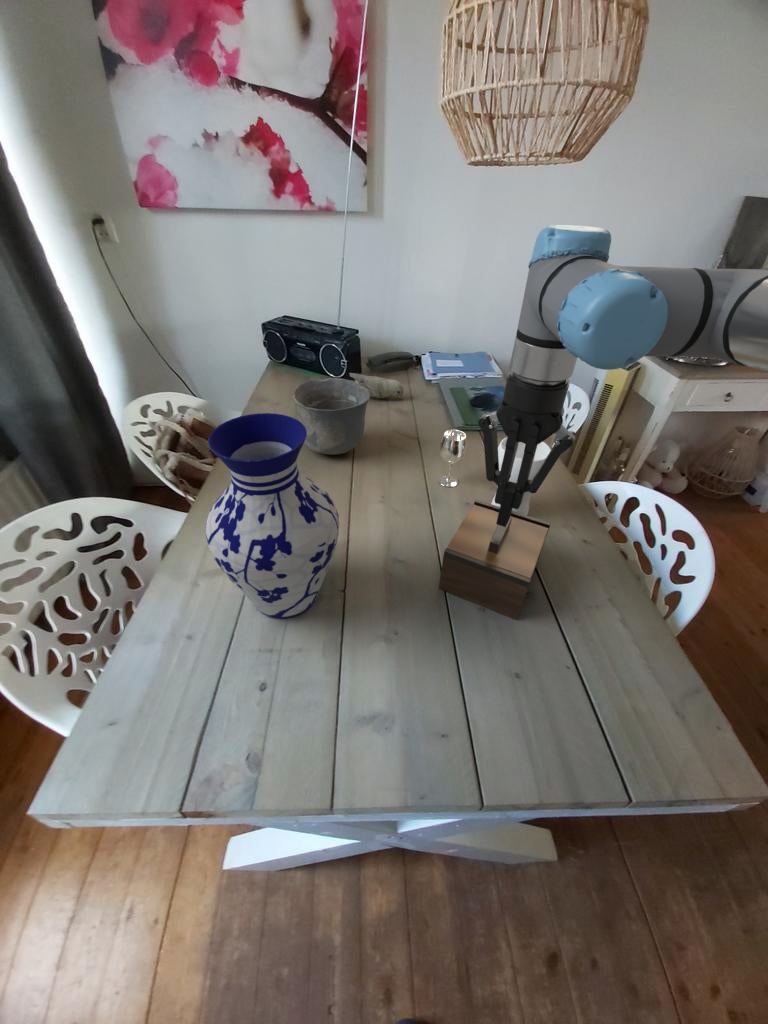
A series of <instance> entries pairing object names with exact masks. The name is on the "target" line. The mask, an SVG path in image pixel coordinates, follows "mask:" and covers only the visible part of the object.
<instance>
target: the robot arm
mask: <svg viewBox="0 0 768 1024" xmlns="http://www.w3.org/2000/svg"><path fill="white" fill-rule="evenodd" d="M611 244H612V235H611V232H610V231H609V230H608V229H605V228H603V227H597V226H588V225H587V226H586V225H573V224H555V225H553V224H552V225H547V226H545V227H544V228H541V230H540V231H539V233H538V234H537V236H536V239H535V242H534V247H533V250H532V254H531V257H530V260H529V262H528V265H527V267H528V273H527V278H526V282H525V288H524V293H523V299H522V303H521V308H520V314H519V317H518V318H519V319H518V324H517V329H516V334H515V339H514V342H513V346H512V347H513V348H512V352H511V357H510V362H509V368H510V370H511V371H509V372H508V374H507V377H506V382H505V387H504V392H503V397H502V401H501V404H500V405H499V406H498V407H497V409H496V410H494V411H492V412H490V411H485V412H484V413H483V414H482V415H481V417H480V418H479V419H478V421H477V422H478V423H477V424H478V426H479V428H480V430H481V433H482V435H483V448H484V449H483V451H484V463H485V464H484V465H485V476H486V480H487V481H488V482H493V483H495V484H496V491H495V494H496V496H495V495H494V496H495V503H497V504H500V505H501V506H500V510H499V514H498V518H497V522H496V524H497V525H500V526H503V527H506V525H507V523H508V521H509V519H510V516H511V512H512V508H514V509H518V508H519V507H520V505H521V503H522V499H523V495H524V492H530V493H532V494H535V493H537V492H538V490H539V489H540V487H541V486H542V484H543V483H544V481H545V480H546V478H547V477H546V476H548V475H549V473H550V472H551V471H552V469H553V467H555V464H556V463H557V461H558V459H559V458H560V456H561V455H562V454H563V453H565V452H566V451H568V450H569V449H570V448H571V447H573V445H574V443H575V440H576V438H577V434H576V432H575V431H574V430H573V431H572V430H570V431H569V430H568V429H567V428H566V427H565V426H564V425H563V424H564V420H563V414H562V413H563V408H564V405H565V401H566V399H567V395H568V391H569V388H570V384H571V382H570V380H569V379H570V378H571V377H572V376H573V374H574V370H575V367H576V364H577V361H578V359H579V360H580V361H581V362H584V363H585V364H587V365H588V366H590V367H592V368H595V369H598V370H605V371H611V370H612V371H613V370H619V369H622V368H623V367H625V366H629V365H630V364H633V363H635V362H638V361H639V360H641V359H643V358H644V357H660V358H661V357H663V358H665V357H686V358H687V357H688V358H692V357H693V358H708V359H716V360H721V361H724V362H728V363H731V364H735V365H740V366H744V367H748V368H753V369H756V370H759V371H764V372H767V373H768V268H752V269H751V268H698V267H669V266H668V267H666V266H665V267H664V266H631V265H615V264H612V263H610V262H609V259H610V255H609V254H610V249H611ZM499 424H500V426H501V429H502V431H503V432H504V435H505V436H506V437H507V441H506V446H505V447H506V449H505V453H504V457H503V462H502V466H501V471H499V459H498V446H499V443H498V428H497V427H498V425H499ZM554 434H555V437H554V439H553V443H554V444H553V446H552V448H550V449H551V451H550V453H549V454H548V456H547V457H546V459H545V461H544V462H543V464H542V465H541V467H540V469H539V470H538V472H537V473H536V475H535V477H534V478H533V480H528V478H529V475H530V471H531V467H532V463H533V460H534V456H535V452H536V449H537V445H538V444H540V443H541V442H544V441H546V440H547V439H548V438H550V437H551V436H553V435H554ZM519 442H522V443H524V444H526V445H525V449H524V455H523V459H522V463H521V467H520V471H519V475H518V479H517V483H514V482H510V481H509V479H510V477H511V472H512V468H513V464H514V459H515V455H516V451H517V447H518V443H519ZM544 479H545V480H544Z"/></svg>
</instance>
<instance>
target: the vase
mask: <svg viewBox="0 0 768 1024" xmlns="http://www.w3.org/2000/svg"><path fill="white" fill-rule="evenodd" d="M306 436H307V431H306V428H305V426H304V425H303V424H302V423H301V422H299V421H298V419H297V418H294V417H292V416H289V415H285V414H282V413H281V414H279V413H272V412H271V413H270V412H262V413H259V412H258V413H252V414H245V415H241V416H237V417H233V418H232V419H229V420H226V421H225V422H223V423H221V424H219V425H217V427H216V428H214V429H213V430H212V431H211V433H210V434H209V436H208V439H207V445H208V447H209V449H210V450H211V452H212V453H213V454H214V455H215V456H217V458H218V459H219V460H220V461H221V462H222V463H223V464H224V465H225V466H226V467H227V469H228V470H229V473H230V483H229V485H228V487H226V489H225V490H224V492H222V494H220V496H219V497H218V498H217V499H216V500H215V502H214V503H213V505H212V507H211V509H209V512H208V515H207V520H206V523H205V541H206V543H207V546H208V549H209V551H210V553H211V556H212V558H213V560H214V561H215V563H216V564H217V566H219V568H220V569H221V571H222V572H223V573H224V574H225V576H227V577H228V578H229V581H230V582H231V583H232V584H234V586H235V587H236V588H237V589H238V590H239V591H240V593H242V594H243V596H245V598H247V599H248V601H250V603H251V604H252V605H253V606H254V607H255V608H256V610H258V611H259V612H260V613H261V614H263V615H264V616H267V617H269V618H273V619H290V618H294V617H297V616H299V615H302V614H304V613H305V612H307V611H308V610H309V609H311V607H312V606H313V605H314V604H315V603H316V601H317V599H318V598H319V595H320V594H319V593H320V592H321V588H322V586H323V583H324V581H325V578H326V576H327V574H328V571H329V567H330V565H331V563H332V559H333V557H334V553H335V550H336V546H337V544H338V538H339V535H340V533H339V532H340V517H339V512H338V509H337V507H336V505H335V504H336V503H335V502H334V500H333V499H332V497H331V495H329V493H328V492H327V491H326V490H325V489H324V488H323V487H322V486H320V484H318V483H316V482H314V481H313V480H312V479H310V478H309V477H307V476H305V475H304V474H302V473H301V471H300V470H299V468H298V457H299V454H300V452H301V450H302V448H303V446H304V441H305V439H306Z"/></svg>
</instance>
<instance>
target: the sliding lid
mask: <svg viewBox="0 0 768 1024" xmlns="http://www.w3.org/2000/svg"><path fill="white" fill-rule="evenodd" d="M498 514H499V512H496V511H493V510H490V509H487V508H484V507H481V506H477V505H474V503H473V504H472V505H471V507H470V509H469V510H468V512H467V513H466V515H465V517H464V519H462V521H461V523H460V525H459V527H458V528H457V530H456V532H455V533H454V535H453V537H452V539H451V540H450V542H449V544H448V545H447V547H446V549H449V550H452V551H455V552H457V553H460V554H463V555H466V556H468V557H471V558H474V559H476V560H479V561H482V562H485V563H487V564H490V565H493V566H496V567H498V568H501V569H504V570H507V571H509V572H512V573H515V574H518V575H520V576H523V577H526V578H529V579H531V577H532V578H533V576H532V574H533V575H534V573H535V570H536V567H537V565H536V563H537V564H538V562H537V560H538V561H539V559H540V556H541V553H542V550H543V548H542V546H543V547H544V545H545V542H546V539H547V536H548V533H549V531H550V527H549V528H546V527H543V526H540V525H537V524H534V523H531V522H527V521H524V520H521V519H518V518H515V517H512V516H510V519H509V521H508V523H507V525H506V527H503V526H500V525H497V524H496V522H497V518H498ZM546 535H547V536H546ZM545 538H546V539H545ZM544 541H545V542H544ZM543 544H544V545H543ZM541 549H542V550H541ZM540 552H541V553H540ZM539 555H540V556H539ZM538 558H539V559H538ZM535 566H536V567H535ZM534 569H535V570H534ZM533 572H534V573H533ZM531 580H532V579H531Z"/></svg>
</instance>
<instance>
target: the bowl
mask: <svg viewBox="0 0 768 1024" xmlns="http://www.w3.org/2000/svg"><path fill="white" fill-rule="evenodd" d="M292 397H293V400H294V404H295V411H296V412H295V413H296V420H298V421H299V422H301V423H302V424H303V425H304V426H305V428H306V431H307V436H306V439H305V441H304V444H303V446H305V447H306V448H307V449H308V450H309V451H312V452H315V453H316V454H322V455H332V456H334V455H342V454H346V453H348V452H349V451H351V450H353V449H355V448H356V447H357V446H358V445H359V443H360V442H361V440H362V438H363V437H364V432H365V425H366V412H367V406H368V403H369V400H370V399H371V396H370V393H369V391H368V390H367V389H365V387H362V386H361V387H359V383H356V382H355V380H351V379H350V380H349V379H345V378H338V377H328V378H326V379H311V380H307V381H304V382H302V383H300V384H299V385H297V386H296V388H295V389H294V391H293V394H292Z"/></svg>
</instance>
